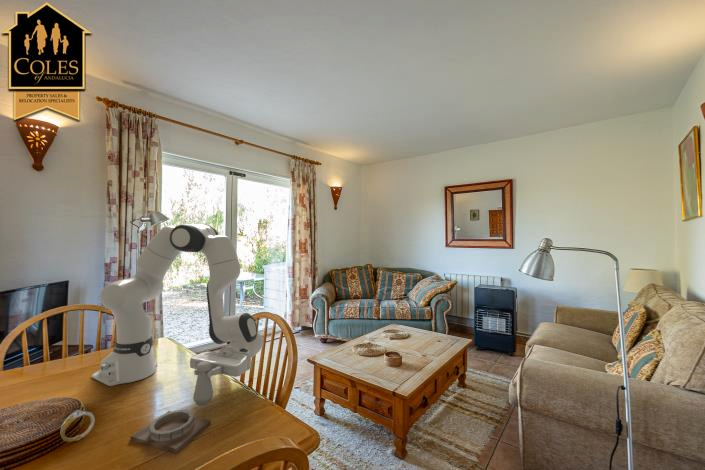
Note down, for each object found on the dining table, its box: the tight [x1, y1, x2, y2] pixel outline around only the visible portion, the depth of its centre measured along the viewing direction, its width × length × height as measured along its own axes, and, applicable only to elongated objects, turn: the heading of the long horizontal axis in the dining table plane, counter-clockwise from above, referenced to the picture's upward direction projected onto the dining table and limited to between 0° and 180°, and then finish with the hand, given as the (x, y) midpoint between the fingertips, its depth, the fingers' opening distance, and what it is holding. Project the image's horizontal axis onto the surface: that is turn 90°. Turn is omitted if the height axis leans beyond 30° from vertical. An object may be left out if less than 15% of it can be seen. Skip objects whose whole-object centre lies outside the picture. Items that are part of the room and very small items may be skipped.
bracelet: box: [59, 408, 96, 443], centre depth 81 cm, size 7×3×8 cm, turn 144°
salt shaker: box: [192, 361, 214, 407], centre depth 96 cm, size 6×6×13 cm
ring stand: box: [129, 409, 212, 454], centre depth 84 cm, size 16×12×3 cm
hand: (201, 373), depth 95 cm, fingers closed on salt shaker, 3 cm apart
